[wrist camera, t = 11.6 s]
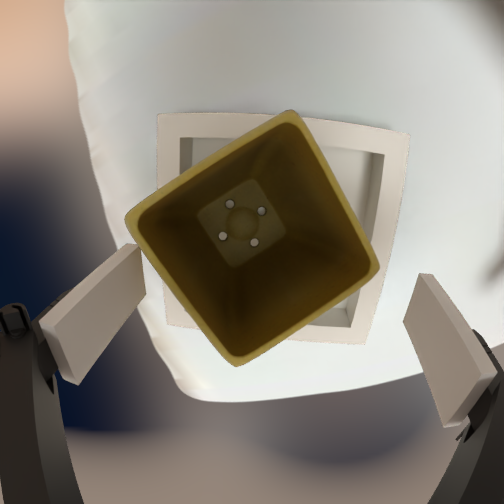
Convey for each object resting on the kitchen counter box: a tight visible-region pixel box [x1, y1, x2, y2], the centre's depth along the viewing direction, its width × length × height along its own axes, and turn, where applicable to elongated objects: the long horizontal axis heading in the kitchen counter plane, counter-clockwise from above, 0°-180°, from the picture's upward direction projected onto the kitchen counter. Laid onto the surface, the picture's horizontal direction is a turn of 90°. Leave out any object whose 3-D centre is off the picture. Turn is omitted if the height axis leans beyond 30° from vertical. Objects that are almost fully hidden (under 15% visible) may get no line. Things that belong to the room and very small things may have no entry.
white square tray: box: [157, 113, 410, 345], centre depth 21 cm, size 16×16×4 cm
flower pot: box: [124, 110, 380, 367], centre depth 17 cm, size 9×9×9 cm
